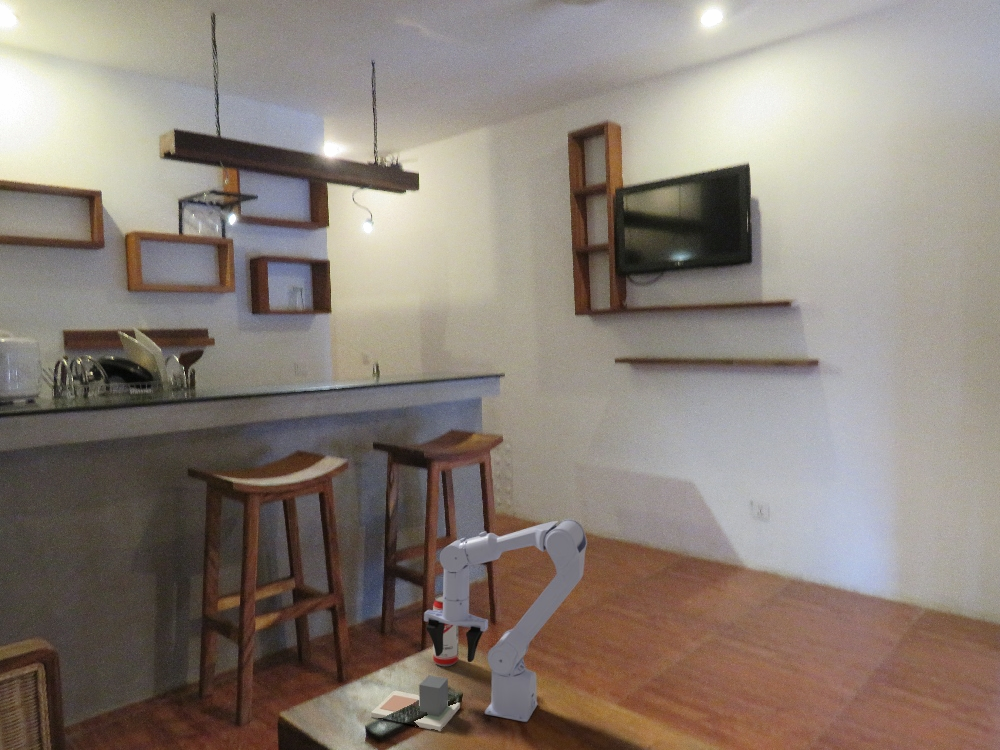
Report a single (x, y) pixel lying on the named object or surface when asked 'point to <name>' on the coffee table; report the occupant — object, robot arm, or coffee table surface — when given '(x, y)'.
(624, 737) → the coffee table surface
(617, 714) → the coffee table surface
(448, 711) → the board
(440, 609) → the beer can
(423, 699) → the block
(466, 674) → the coffee table surface
